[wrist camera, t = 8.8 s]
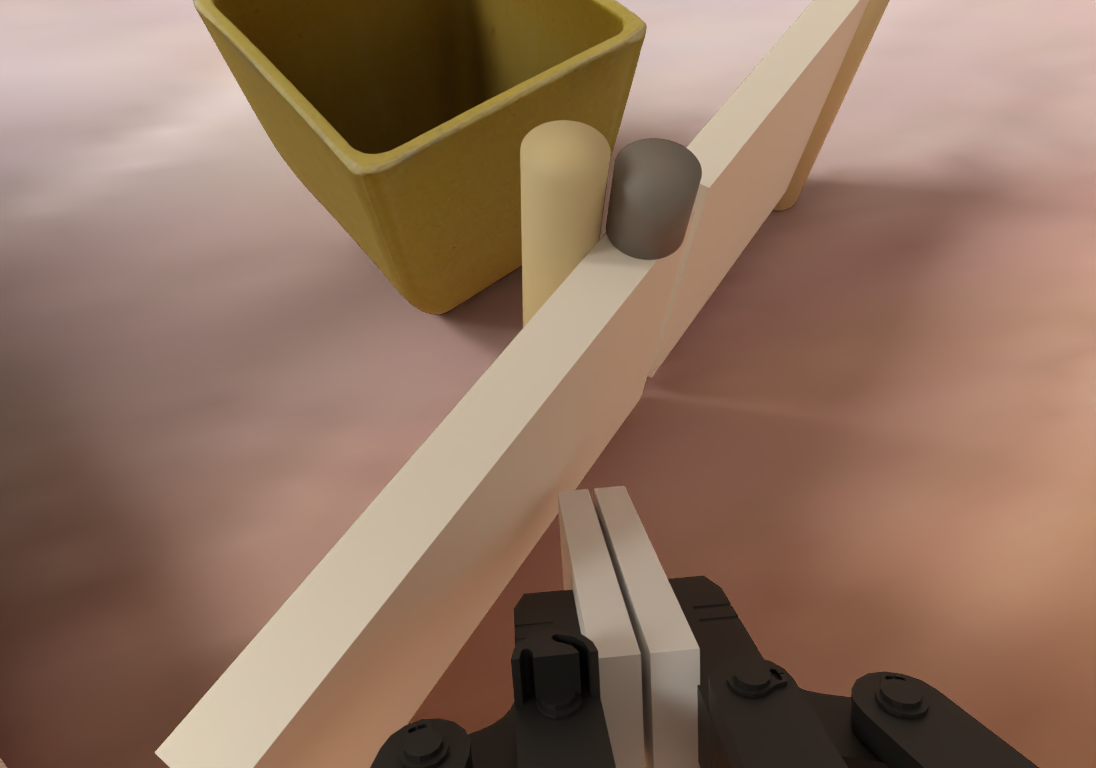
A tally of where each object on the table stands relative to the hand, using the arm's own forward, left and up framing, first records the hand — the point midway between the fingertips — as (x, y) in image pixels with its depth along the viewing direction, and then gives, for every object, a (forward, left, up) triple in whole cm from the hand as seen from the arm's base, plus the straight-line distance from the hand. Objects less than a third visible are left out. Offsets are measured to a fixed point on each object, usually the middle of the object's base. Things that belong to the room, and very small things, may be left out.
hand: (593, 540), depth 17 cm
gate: (-2, -1, -2) cm, 3 cm away
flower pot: (-8, +10, -3) cm, 13 cm away
